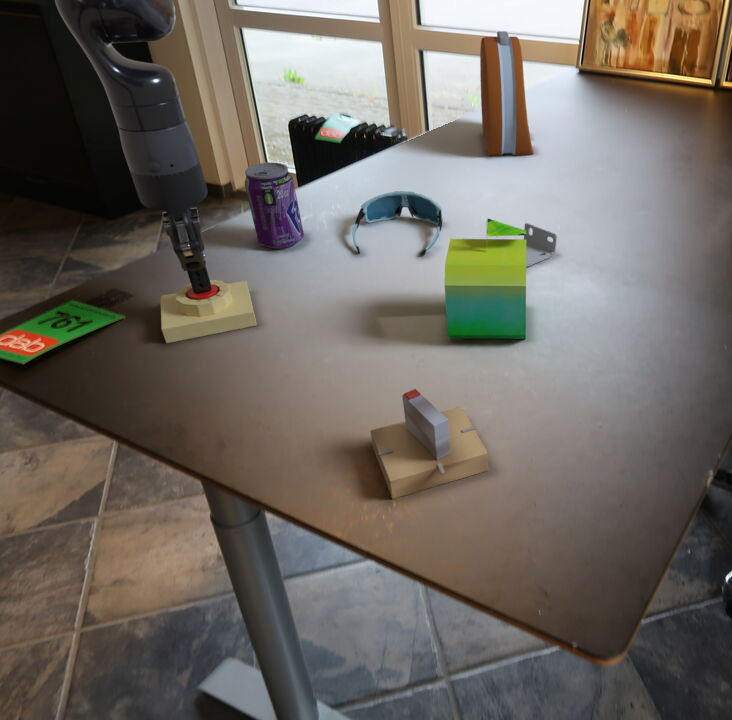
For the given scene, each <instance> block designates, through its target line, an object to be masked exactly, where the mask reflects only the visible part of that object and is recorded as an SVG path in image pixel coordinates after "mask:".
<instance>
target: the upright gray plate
mask: <svg viewBox="0 0 732 720" xmlns="http://www.w3.org/2000/svg"><path fill="white" fill-rule="evenodd" d="M401 397H402V404H403V413H404V422H406V429H407V430H408V431H409V432H410V433H411V434H412V435H413V436H414V437H415V438H416V439H417V440H418V441H419V442H420V443H421V444H422V445H423V446H424V447H425V448H426V449H427V450H428V451H429V453H430V454H431V455H432V456H433V457H434V458H435V459H436V460H439V459H441V458H443V457H445V456H447V455H449V454H450V441H449V427H448V419H447V418H446V417H445V416H444V415H443V414H442V413H441V412H442V411H440V410H439V409H438V408H436V406H435V405H433V404H432V403H431V402H430V401H429V400H428V399H427V398H426V397H425V396H424V395H423V394H422V393H421V392H419V390H418V389H416V388H414V389H411V390H408V391H407V392H404V393H403V394H402V395H401Z"/></svg>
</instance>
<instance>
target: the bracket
mask: <svg viewBox="0 0 732 720" xmlns="http://www.w3.org/2000/svg"><path fill="white" fill-rule="evenodd" d="M530 229H531V230H532V232H531V233H532V234H531V233H530V231H531V230H530ZM523 230H526V235H523V239H526V268H528V267H530V266H532V265H535V264H537V263H540V262H542V261H544V260H547V259H549V258H552V256H553V255H552V254H553V253H556V252H557V242H558V234H557V233H554V232H552V231H550V230H546V229H544V228H542V227H539V226H537V225H534V224H531V223H528V222H526V223H524V229H523ZM549 238H551V239H552V240H553V241H551V240H549Z"/></svg>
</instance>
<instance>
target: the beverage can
mask: <svg viewBox="0 0 732 720" xmlns="http://www.w3.org/2000/svg"><path fill="white" fill-rule="evenodd" d="M244 173H245V180H244V188H245V193H246V196H247V201H248V204H249V209H250V213H251V217H252V221H253V226H254V231H255V234H256V238H257V242H258V243H259V244H260V245H261V246H264V247H267V248H270V249H286V248H289V247H292V246H294V245H296V244H297V243H299V242H301V241H302V240H303V239H304V237H305V234H304V228H303V223H302V218H301V212H300V207H299V202H298V197H297V192H296V186H295V182H294V178H293V176H292V175H291V173H290V171H289V168H288V166H287V165H286V164H284V163H280V162H262V163H257V164H254V165H251V166H249V167H247V168H246V169H245V171H244Z"/></svg>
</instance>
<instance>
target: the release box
mask: <svg viewBox="0 0 732 720" xmlns="http://www.w3.org/2000/svg"><path fill="white" fill-rule="evenodd" d="M210 282H211V284H213V285H215V286H216V287H217V290H218V293H217V294H216V295H215V296H213V297H210V298H208V299H203V300H191V299H189V297H188V290H189V289H191V288H192V286H191V283H189V284H185V285H184V286H182V287H181V288H180V289H179V290H178V291H177V292H175V293H169V294H165V295H163V294H162V295H160V327H161V328H160V329H161V332H162V334H163V338H164V342H165V343H166V344H172V343H176V342H182V341H186V340H190V339H196V338H200V337H201V338H202V337H205V336H211V335H216V334H222V333H226V332H231V331H236V330H241V329H247V328H251V327H257V326H258V325H257V320H256V315H255V311H254V306H253V302H252V297H251V294H250V290H249V289H250V288H249V286H248V281H247V280H242V281H237V282H232V283H226V282H225V281H223V280H219V279H210Z"/></svg>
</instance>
